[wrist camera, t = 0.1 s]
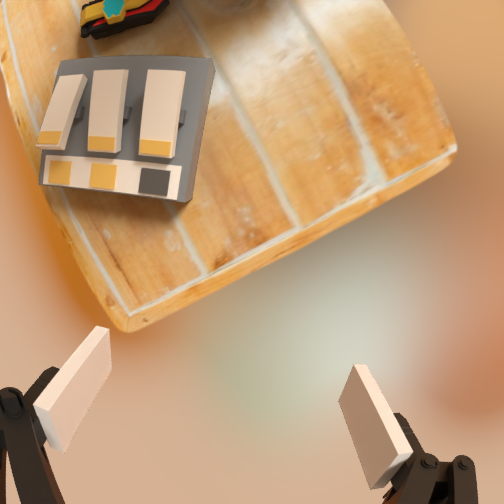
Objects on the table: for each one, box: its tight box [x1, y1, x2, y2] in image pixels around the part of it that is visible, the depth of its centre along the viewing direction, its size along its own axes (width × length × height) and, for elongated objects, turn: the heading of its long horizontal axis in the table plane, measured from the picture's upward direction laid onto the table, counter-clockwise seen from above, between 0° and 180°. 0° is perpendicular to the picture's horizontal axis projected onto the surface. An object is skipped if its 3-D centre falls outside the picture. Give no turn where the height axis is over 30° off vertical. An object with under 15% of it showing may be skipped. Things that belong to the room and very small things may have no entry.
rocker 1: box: [36, 74, 88, 150], centre depth 29 cm, size 10×4×2 cm, turn 170°
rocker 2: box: [88, 69, 129, 153], centre depth 30 cm, size 10×4×2 cm, turn 170°
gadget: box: [80, 0, 169, 39], centre depth 30 cm, size 6×13×6 cm, turn 99°
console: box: [39, 55, 215, 203], centre depth 34 cm, size 18×22×6 cm
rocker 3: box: [139, 69, 186, 158], centre depth 30 cm, size 10×4×2 cm, turn 170°
